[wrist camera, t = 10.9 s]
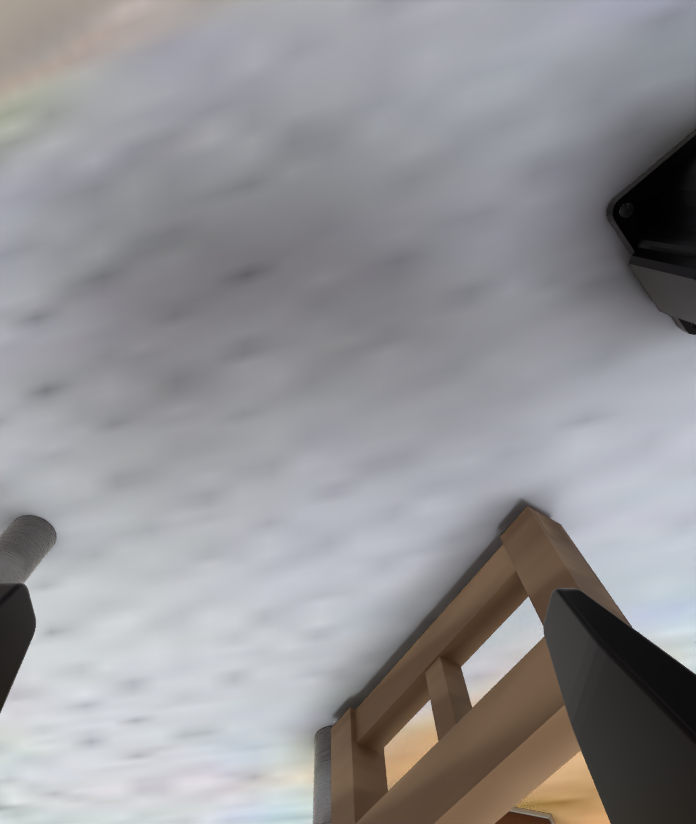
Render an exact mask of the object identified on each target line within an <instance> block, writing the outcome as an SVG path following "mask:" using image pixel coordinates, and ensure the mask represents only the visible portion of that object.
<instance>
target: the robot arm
mask: <svg viewBox="0 0 696 824" xmlns="http://www.w3.org/2000/svg"><path fill="white" fill-rule="evenodd" d="M623 204H626V205H627V207H628V209H627V213H626V214H625V215H624V216H622V217H621V216H620V214H619V210H620V207H621V206H622V205H623ZM607 217H608V219H609V221H610V223H611V224H612V226H613V227H614V229H615V230H616V232H617V233H618V235H619V236H620V238H621V239H622V241H623V243H624V244H625V246H626V247H627V249H628V250H629V252H630V253H631V255H630V256H629V266H630V268H631V269H632V271H633V272H634V274H635V275H636V277H637V278H638V280H639V281H640V283H641V284H642V286H643V287H644V289H645V290H646V292H647V293H648V295H649V296H650V298H651V299H652V301H653V302H654V304H655V305H656V307H657V308H658V310H659V311H661V312H663V313H666V314H669V315H671V316H672V317H673V319H674V320H675V322H676V323H677V325H678V326H679V328H680V329H681V330H682V331H684V332H687V333H689V334H693V335H695V334H696V129H695V130H694V131H693V132H692V133H691V134H690V135H688V136H687V137H686V138H685V139H684V140H683V141H681V142H680V143H679V144H678V145H677V146H675V147H674V148H673V149H672V150H671V151H670V152H668V153H667V154H666V155H665V156H664V157H662V158H661V159H660V160H659V161H658V162H657V163H655V164H654V165H653V166H652V167H651V168H649V169H648V170H647V171H646V172H645V173H644V174H642V175H641V176H640V177H639V178H638V179H636V180H635V181H634V182H633V183H632V184H631V185H629V186H628V187H627V188H626V189H625V190H623V191H622V192H621V193H620V194H619V195H618V196H616V197H615V198H614V199H613V200H612V201H611V202H610V204H609V206H608V208H607ZM691 323H693V324H694V325H692V326H691ZM35 628H36V618H35V614H34V610H33V606H32V603H31V599H30V595H29V591H28V588H27V587H26V585H25V584H23V583H0V713H1V710H2V708H3V706H4V703H5V701H6V699H7V696H8V694H9V692H10V689H11V687H12V685H13V682H14V680H15V678H16V675H17V673H18V671H19V668H20V666H21V664H22V661H23V659H24V657H25V654H26V652H27V650H28V647H29V645H30V642H31V640H32V638H33V635H34V632H35ZM544 636H545V640H546V643H547V647H548V650H549V653H550V657H551V660H552V663H553V667H554V670H555V674H556V677H557V680H558V684H559V687H560V690H561V694H562V697H563V701H564V704H565V707H566V711H567V714H568V717H569V720H570V723H571V726H572V729H573V731H574V734H575V737H576V739H577V742H578V744H579V747H580V749H581V752H582V754H583V756H584V759H585V761H586V764H587V766H588V769H589V771H590V774H591V776H592V779H593V781H594V783H595V786H596V788H597V791H598V793H599V796H600V798H601V801H602V803H603V806H604V808H605V811H606V813H607V815H608V818H609V820H610V823H611V824H696V674H695V673H693V672H692V671H690V670H689V669H688V668H686V667H685V666H684V665H682V664H681V663H680V662H678V661H677V660H675V659H674V658H673V657H671V656H670V655H669V654H667V653H666V652H665V651H663V650H662V649H660V648H659V647H658V646H656V645H655V644H654V643H652V642H651V641H650V640H648V639H647V638H645V637H644V636H643V635H641V634H640V633H639V632H637V631H636V630H635V629H633V628H632V627H630V626H629V625H628V624H626V623H625V622H624V621H622V620H621V619H620V618H618V617H617V616H615V615H614V614H613V613H611V612H610V611H609V610H607V609H606V608H605V607H603V606H602V605H600V604H599V603H598V602H596V601H595V600H594V599H592V598H591V597H590V596H588V595H587V594H585V593H584V592H583V591H581V590H579V589H577V588H556V589H554V590H553V592H552V594H551V597H550V601H549V605H548V608H547V612H546V616H545V620H544Z"/></svg>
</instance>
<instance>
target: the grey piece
mask: <svg viewBox="0 0 696 824" xmlns="http://www.w3.org/2000/svg"><path fill="white" fill-rule="evenodd" d="M55 541H56V534H55V531H54V529H53V527H52V526H51V525H50V524H49V523H48V522H46V521H45V520H43V519H41V518H39V517H35V516H22V517H19V518H17V519H16V520H15V521H14V522H13V523H12V524H11V525H10V526H9V527H8V528H7V529H6V530H5V531H4V532H3V533H2V534H1V535H0V583H23V584H24V583H25V581H26V580H27V579H28V577H29V576H30V575H31V574H32V572H33V571H34V570H35V568H36V567H37V566H38V564H39V563H40V562H41V561H42V559H43V558H44V557H45V555H46V554H47V553H48V552H49V550H50V549H51V548H52V546H53V545H54V544H55ZM332 727H333V726H330V727H325V728H323V729H321V730H319V731H318V732H317V733H316V735H315V757H314V797H313V824H331V728H332Z"/></svg>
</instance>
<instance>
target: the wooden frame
mask: <svg viewBox="0 0 696 824" xmlns="http://www.w3.org/2000/svg"><path fill="white" fill-rule="evenodd" d="M500 539H501V541H502V543H503V545H502V546H501V547H500V548H499V549H498V550H497V551H496V552H495V554H494V555H493V556H492V557H491V558H490V559H489V560H488V561H487V563H486V564H485V565H484V566H483V567H482V568H481V569H480V570H479V572H478V573H477V574H476V575H475V576H474V577H473V578H472V579H471V580H470V582H469V583H468V584H467V585H466V586H465V587H464V588H463V589H462V591H461V592H460V593H459V594H458V595H457V596H456V597H455V598H454V600H453V601H452V602H451V603H450V604H449V605H448V606H447V607H446V609H445V610H444V611H443V612H442V613H441V614H440V615H439V616H438V618H437V619H436V620H435V621H434V622H433V623H432V624H431V625H430V627H429V628H428V629H427V630H426V631H425V632H424V633H423V634H422V636H421V637H420V638H419V639H418V640H417V641H416V642H415V643H414V645H413V646H412V647H411V648H410V649H409V650H408V651H407V652H406V654H405V655H404V656H403V657H402V658H401V659H400V660H399V661H398V663H397V664H396V665H395V666H394V667H393V668H392V669H391V670H390V672H389V673H388V674H387V675H386V676H385V677H384V678H383V679H382V681H381V682H380V683H379V684H378V685H377V686H376V687H375V688H374V690H373V691H372V692H371V693H370V694H369V695H368V696H367V697H366V699H365V700H364V701H363V702H362V703H361V704H360V705H359V706H358V708H357V709H354V708H351V707H350V708H349V709H348V710H347V711H346V712H345V713H344V714H343V716H342V717H341V718H340V719H339V720H338V721H337V722H336V724H335V725H334V726H333V727H332V728H331V824H495V823H496V822H497V821H498V820H499V819H501V818H502V817H503V816H504V815H505V814H506V813H508V812H509V811H510V810H511V809H512V808H513V807H515V806H516V805H517V804H518V803H519V802H521V801H522V800H523V799H524V798H525V797H526V796H528V795H529V794H530V793H531V792H532V791H533V790H535V789H536V788H537V787H538V786H539V785H540V784H542V783H543V782H544V781H545V780H546V779H548V778H549V777H550V776H551V775H552V774H553V773H555V772H556V771H557V770H558V769H559V768H560V767H562V766H563V765H564V764H565V763H566V762H567V761H569V760H570V759H571V758H572V757H573V756H575V755H576V754H577V753H578V752H579V751H580V750H581V749H580V747H579V744H578V742H577V739H576V737H575V734H574V731H573V729H572V726H571V723H570V720H569V717H568V714H567V711H566V707H565V704H564V701H563V697H562V694H561V690H560V687H559V684H558V680H557V677H556V674H555V670H554V667H553V663H552V660H551V657H550V653H549V650H548V647H547V643H546V640H545V636H544V637H543V638H542V639H541V640H540V641H539V642H538V643H537V644H536V645H535V646H534V647H533V648H532V649H531V650H530V651H529V652H528V653H527V654H526V655H525V656H524V657H523V658H522V659H521V660H520V661H519V662H518V663H517V664H516V665H515V666H514V667H513V668H512V669H511V670H510V671H509V672H508V673H507V674H506V675H505V676H504V677H503V678H502V679H501V680H500V681H499V682H498V683H497V684H496V685H495V686H494V687H493V688H492V689H491V690H490V691H489V692H488V693H487V694H486V695H485V696H484V697H483V698H482V699H481V700H480V701H479V702H478V703H477V704H476V705H475V706H474V707H473V708H472V706H471V702H470V698H469V695H468V691H467V688H466V684H465V680H464V677H463V673H462V670H461V666H462V665H463V664H464V663H465V662H466V661H467V660H468V659H469V658H470V657H471V656H472V655H473V654H474V653H475V652H476V651H477V650H478V649H479V648H480V646H481V645H482V644H483V643H484V642H485V641H486V640H487V639H488V638H489V637H490V636H491V635H492V634H493V633H494V632H495V631H496V630H497V629H498V628H499V627H500V626H501V625H502V623H503V622H504V621H505V620H506V619H507V618H508V617H509V616H510V615H511V614H512V613H513V612H514V611H515V610H516V609H517V608H518V607H519V606H520V605H521V604H522V603H523V602H524V600H525V599H526V598H527V597H528V596H529V598H530V600H531V602H532V604H533V606H534V608H535V610H536V612H537V614H538V616H539V618H540V620H541V622H542V624H543V626H544V620H545V616H546V612H547V608H548V605H549V601H550V597H551V594H552V592H553V590H554V589H556V588H577V589H579V590H581V591H583V592H584V593H585V594H587V595H588V596H590V597H591V598H592V599H594V600H595V601H596V602H598V603H599V604H600V605H602V606H603V607H605V608H606V609H607V610H609V611H610V612H611V613H613V614H614V615H615V616H617V617H618V618H620V619H621V620H622V621H624V622H625V623H626V624H628V625H629V626H630V627H632V626H631V625H630V623H629V622H628V620H627V619H626V618H625V616H624V615H623V613H622V612H621V610H620V609H619V607H618V606H617V605H616V603H615V602H614V600H613V599H612V597H611V596H610V595H609V593H608V592H607V590H606V589H605V587H604V586H603V584H602V583H601V582H600V580H599V579H598V577H597V576H596V574H595V573H594V572H593V570H592V569H591V567H590V566H589V564H588V563H587V561H586V560H585V559H584V557H583V556H582V554H581V553H580V551H579V550H578V548H577V547H576V546H575V544H574V543H573V541H572V540H571V538H570V537H569V536H568V534H567V533H566V531H565V530H564V528H563V527H562V525H561V524H559V523H557V522H555V521H554V520H552V519H550V518H548V517H547V516H545V515H543V514H541V513H539V512H538V511H536V510H534V509H532V508H531V507H529V506H527V507H526V508H525V509H524V510H523V511H522V512H521V514H520V515H519V516H518V517H517V518H516V519H515V520H514V521H513V523H512V524H511V525H510V526H509V527H508V528H507V529H506V531H505V532H504V533H503V534H502V535H501V536H500ZM429 700H431V705H432V710H433V715H434V720H435V725H436V730H437V735H438V740H439V741H438V742H437V743H436V744H435V745H434V746H433V747H432V748H431V749H430V750H429V751H428V752H427V753H426V754H425V755H424V756H423V757H422V758H421V759H420V760H419V761H418V762H417V763H416V764H415V765H414V766H413V767H412V768H411V769H410V770H409V771H408V772H407V773H406V774H405V775H404V776H403V777H402V778H401V779H400V780H399V781H398V782H397V783H396V784H395V785H394V786H393V787H392V788H391V789H390V790H389V791H388V788H387V777H386V767H385V757H384V747H385V746H386V745H387V744H388V743H389V742H390V741H391V740H392V738H393V737H394V736H395V735H396V734H397V733H398V732H399V731H400V730H401V729H402V728H403V727H404V726H405V725H406V724H407V723H408V722H409V721H410V720H411V719H412V718H413V717H414V715H415V714H416V713H417V712H418V711H419V710H420V709H421V708H422V707H423V706H424V705H425V704H426V703H427V702H428V701H429Z"/></svg>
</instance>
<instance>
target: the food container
mask: <svg viewBox="0 0 696 824" xmlns="http://www.w3.org/2000/svg"><path fill="white" fill-rule="evenodd" d="M495 824H555V822H554V820H553V818H552V815H551V814H548V813H543V812H538V811H532V810H527V809H522V808H517V807H513V808H512V809H511V810H510V811H509V812H508V813H506V814H505V815H504V816H503V817H502V818H501V819H499V820H498V821H497V822H496V823H495Z"/></svg>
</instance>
